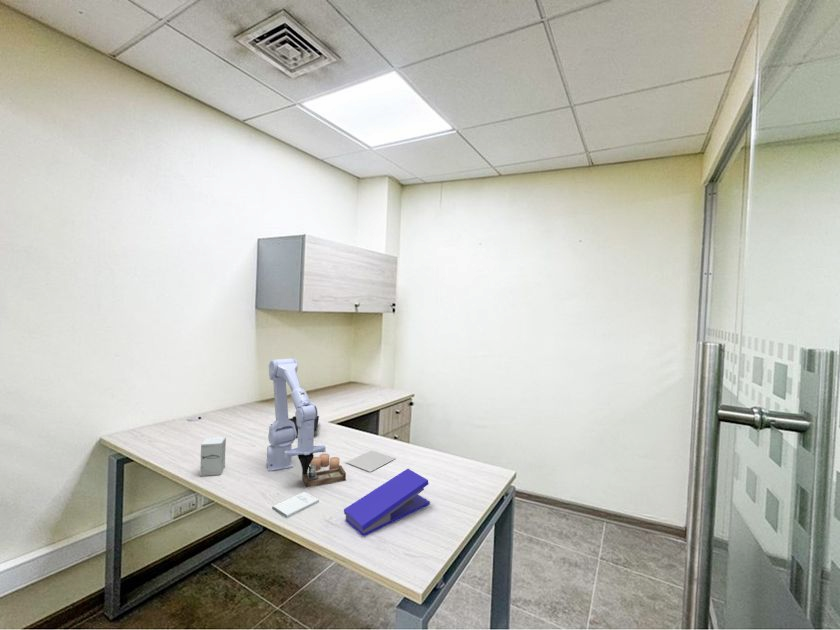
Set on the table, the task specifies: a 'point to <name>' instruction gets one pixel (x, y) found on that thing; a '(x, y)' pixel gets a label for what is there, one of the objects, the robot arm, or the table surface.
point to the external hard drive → (295, 504)
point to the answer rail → (325, 477)
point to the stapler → (387, 503)
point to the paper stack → (370, 460)
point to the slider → (312, 473)
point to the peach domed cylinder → (334, 463)
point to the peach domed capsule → (316, 462)
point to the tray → (297, 426)
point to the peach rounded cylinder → (324, 460)
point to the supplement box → (212, 456)
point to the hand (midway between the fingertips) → (304, 473)
